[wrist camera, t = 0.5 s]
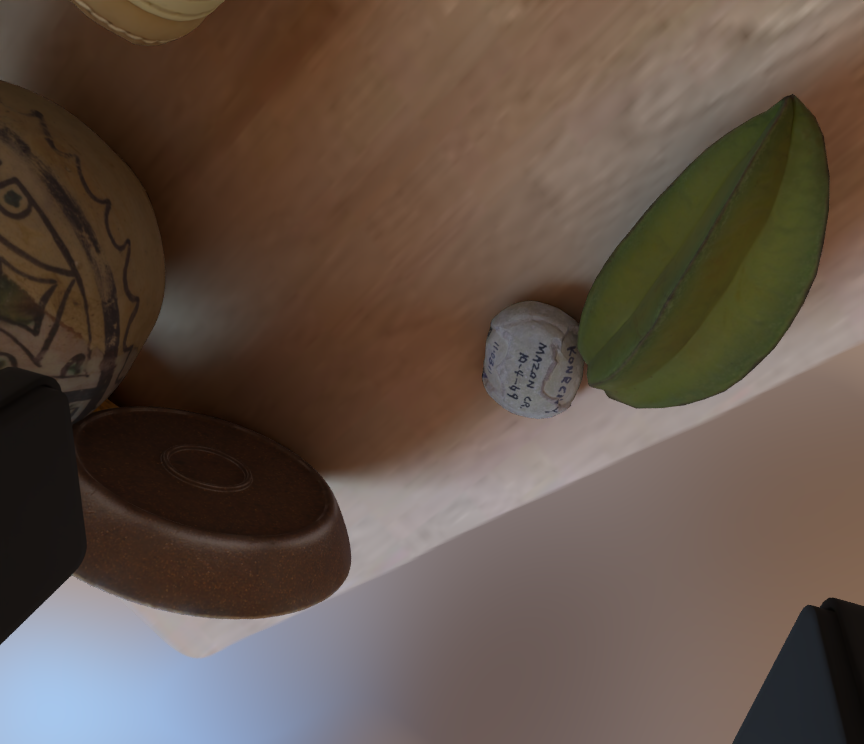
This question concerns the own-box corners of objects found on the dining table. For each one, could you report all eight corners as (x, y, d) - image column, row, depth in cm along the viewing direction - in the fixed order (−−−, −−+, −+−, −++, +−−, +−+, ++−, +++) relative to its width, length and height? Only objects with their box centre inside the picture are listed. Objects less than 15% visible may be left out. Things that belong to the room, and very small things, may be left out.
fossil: (602, 307, 36) (509, 281, 38) (578, 328, 34) (480, 299, 36) (577, 420, 39) (492, 390, 41) (553, 447, 36) (464, 415, 38)
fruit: (877, 397, 30) (831, 302, 35) (848, 134, 24) (796, 63, 29) (602, 453, 34) (595, 362, 39) (511, 243, 28) (517, 164, 33)
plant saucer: (-42, 509, 27) (-61, 578, 28) (396, 600, 33) (372, 655, 34) (65, 358, 44) (52, 405, 44) (347, 437, 49) (332, 477, 50)
